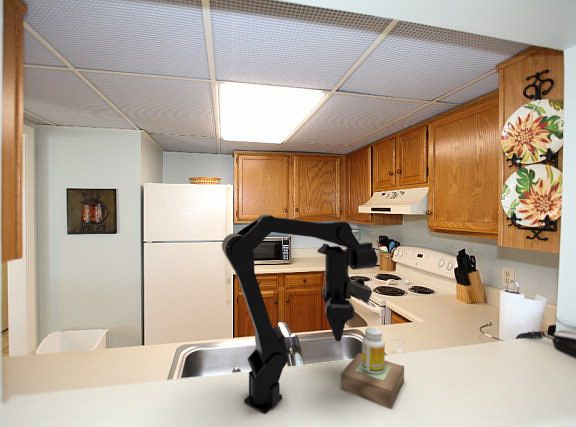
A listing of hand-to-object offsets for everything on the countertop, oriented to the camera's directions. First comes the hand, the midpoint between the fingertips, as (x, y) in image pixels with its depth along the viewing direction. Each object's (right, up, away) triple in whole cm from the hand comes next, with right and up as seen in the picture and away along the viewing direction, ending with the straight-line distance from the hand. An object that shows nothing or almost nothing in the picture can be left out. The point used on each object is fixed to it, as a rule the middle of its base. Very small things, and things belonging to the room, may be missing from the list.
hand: (336, 332), depth 72 cm
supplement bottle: (+9, -9, -1) cm, 13 cm away
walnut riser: (+9, -13, -1) cm, 16 cm away
